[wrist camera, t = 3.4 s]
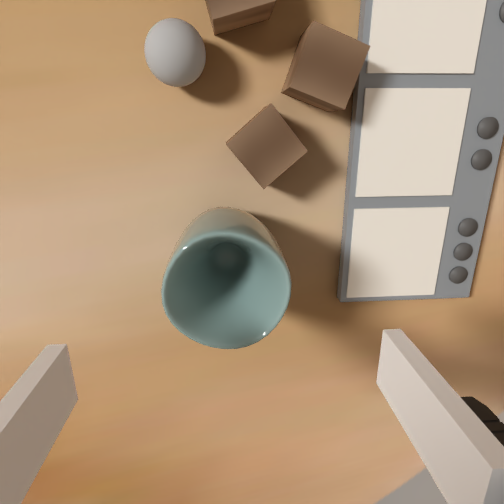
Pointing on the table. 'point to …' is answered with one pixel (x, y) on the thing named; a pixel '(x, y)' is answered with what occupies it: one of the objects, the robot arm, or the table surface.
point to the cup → (226, 280)
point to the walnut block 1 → (237, 13)
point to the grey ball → (175, 52)
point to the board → (422, 148)
